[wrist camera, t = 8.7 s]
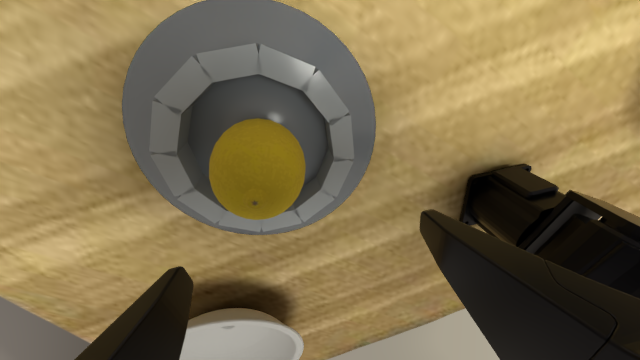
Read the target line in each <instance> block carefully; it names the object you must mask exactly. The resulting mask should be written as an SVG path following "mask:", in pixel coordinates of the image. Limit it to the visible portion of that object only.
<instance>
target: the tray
mask: <svg viewBox="0 0 640 360" xmlns="http://www.w3.org/2000/svg"><path fill="white" fill-rule="evenodd" d="M122 112H123V124H124V128H125V133H126V137H127V141H128V143H129V146H130V148H131V151H132V154H133V156H134V158H135V160H136V162H137V163H138V165H139V167H140V169H141V171H142V172H143V173H144V175H145V176H146V178H147V179H148V180H149V182H150V183H151V184H152V185H153V186H154V187H155V189H156V190H157V191H158V192H159V193H160V194H161V195H162V196H163V197H164V198H165V199H167V200H168V201H169V202H170V203H171V204H172V205H174V206H175V207H177V208H178V209H179V210H181V211H182V212H184V213H185V214H187V215H189V216H191V217H192V218H194V219H196V220H198V221H200V222H202V223H205V224H207V225H209V226H212V227H215V228H218V229H221V230H225V231H230V232H234V233H240V234H249V235H268V234H278V233H284V232H289V231H292V230H296V229H300V228H302V227H305V226H307V225H310V224H312V223H314V222H316V221H318V220H320V219H322V218H323V217H325V216H326V215H328V214H329V213H331V212H332V211H334V210H335V209H336V208H337V207H338V206H340V205H341V204H342V203H343V202H344V201H345V200H346V199H347V198H348V197H349V196H350V195H351V193H352V192H353V191H354V189H355V188H356V187H357V185H358V184H359V182H360V180H361V179H362V177H363V175H364V173H365V171H366V169H367V166H368V164H369V162H370V158H371V155H372V152H373V147H374V141H375V129H376V119H375V109H374V103H373V99H372V95H371V91H370V88H369V86H368V83H367V80H366V78H365V75H364V74H363V72H362V70H361V68H360V66H359V64H358V62H357V61H356V59H355V58H354V57H353V55H352V54H351V52H350V51H349V50H348V48H347V47H346V46H345V45H344V44H343V43H342V42H341V41H340V39H339V38H338V37H337V36H336V35H335V34H334V33H333V32H331V31H330V30H329V29H328V28H326V27H325V26H324V25H323V24H321V23H320V22H319V21H317V20H316V19H314V18H312V17H311V16H309V15H307V14H305V13H304V12H302V11H300V10H298V9H295V8H293V7H290V6H288V5H285V4H283V3H280V2H276V1H272V0H206V1H202V2H198V3H195V4H193V5H191V6H189V7H186V8H184V9H182V10H180V11H178V12H176V13H175V14H173V15H172V16H170V17H169V18H167V19H166V20H164V21H163V22H161V23H160V24H159V25H158V26H157V27H156V28H155V29H154V30H153V31H152V32H151V33H150V34H149V35H148V36H147V37H146V39H145V40H144V42H143V43H142V44H141V46H140V47H139V49H138V50H137V52H136V53H135V56H134V58H133V60H132V62H131V64H130V66H129V69H128V72H127V76H126V80H125V83H124V88H123V99H122ZM256 118H260V119H267V120H271V121H274V122H276V123H279V124H281V125H282V126H284V127H285V128H286V129H288V130H289V131H290V132H291V133H292V134H293V135H294V137H295V138H296V139H297V140H298V142H299V144H300V146H301V148H302V150H303V153H304V159H305V165H306V169H305V179H304V184H303V186H302V189H301V191H300V194H299V196H298V197H297V199H296V200H295V201H294V203H293V204H292V205H291V206H290V207H289V208H288V209H287V210H285V211H284V212H283V213H281V214H279V215H277V216H275V217H272V218H268V219H262V220H252V219H245V218H242V217H239V216H237V215H235V214H233V213H231V212H230V211H228V210H227V209H226V208H225V207H224V206H223V205H222V204H221V203H220V202H219V201H218V199H217V198H216V196H215V194H214V192H213V190H212V187H211V183H210V179H209V162H210V157H211V154H212V151H213V148H214V146H215V144H216V142H217V141H218V140H219V138H220V137H221V136H222V134H223V133H224V132H225V131H226V130H228V129H229V128H230V127H232V126H233V125H234V124H236V123H239V122H241V121H244V120H247V119H256Z"/></svg>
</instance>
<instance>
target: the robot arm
mask: <svg viewBox="0 0 640 360" xmlns="http://www.w3.org/2000/svg"><path fill="white" fill-rule="evenodd" d="M530 171H531V166H529V165H527V164H524V165H519V166H515V167H510V168H506V169H501V170H497V171H492V172H488V173H483V174H479V175H474V176H472V177H471V178H470V179H469V181H468V185H467V190H466V195H465V200H464V205H463V209H462V214H461V219H460V221H458V220H456V219H453V218H451V217H449V216H447V215H444V214H442V213H440V212H438V211H436V210H433V209H430V210H426V211H423V212H421V217H420V232H421V234H422V236H423V238H424V240H425V242H426V244H427V246H428V248H429V250H430V251H431V253H432V255H433V257H434V259H435V261H436V263H437V265H438V266H439V268H440V270H441V272H442V273H443V275H444V276H445V278H446V279H447V281H448V282H449V284H450V285H451V287H452V288H453V290H454V291H455V293H456V294H457V296H458V297H459V299H460V300H461V302H462V303H463V305H464V306H465V308H466V309H467V311H468V312H469V314H470V315H471V317H472V318H473V320H474V321H475V323H476V324H477V326H478V327H479V328H480V330H481V332H482V333H483V335H484V336H485V337H486V339H487V340H488V342H489V344H490V345H491V347H492V348H493V349H494V351H495V352H496V354H497V356H498V357H499V358H500V360H640V217H638V216H636V215H633V214H631V213H629V212H627V211H625V210H622V209H620V208H618V207H616V206H614V205H611V204H609V203H607V202H605V201H602V200H599V199H596V198H593V197H590V196H587V195H584V194H581V193H578V192H575V191H572V190H569V191H568V192H567V193H566V194H565V195H564V194H562V193H560V192H559V191H558V189H559V188H558V187H557V186H556V185H554V184H552V183H550V182H548V181H546V180H544V179H542V178H540V177H538V176H536V175H534V174H532V173H530ZM601 216H602V218H601V219H600V220H598V219H599V218H600V217H601ZM474 224H478V225H479V226H480V227H481V228H482V229H483V230H484V231H485V232H487V233H488V234H487V233H485V232H482V231H480V230H478V229H476V228H473V227H471V226H470V225H474ZM192 292H193V281H192V279H191V278H190V276H189V275H188V273H187V272H186V270H185V269H184V268H183V267H175V268H171V269H169V270H168V271H166V272H165V273H164V274H163V275H162V276H161V277H160V278H159V279H158V280H157V281H156V282H155V283H154V284H153V285H152V286H151V287H150V288H149V289H148V290H147V291H146V292H145V293H144V294H142V295H141V296H140V297H139V298H138V299H137V300H136V301H135V302H134V303H133V304H132V305H131V306H130V307H129V308H128V309H127V310H126V311H125V312H124V313H123V314H122V315H121V316H119V317H118V318H117V319H116V320H115V321H114V322H113V323H112V324H111V325H110V326H109V327H108V328H107V329H106V330H105V331H104V332H103V333H102V334H101V335H100V336H99V337H98V338H96V339H95V340H94V341H93V342H92V343H91V344H90V345H89V346H88V347H87V348H86V349H85V350H84V351H83V352H82V353H81V354H80V355H79V356H78V357H77V358H76V359H75V360H179V359H180V355H181V351H182V347H183V343H184V339H185V335H186V331H187V325H188V319H189V312H190V306H191V299H192Z"/></svg>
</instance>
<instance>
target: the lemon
mask: <svg viewBox="0 0 640 360" xmlns="http://www.w3.org/2000/svg"><path fill="white" fill-rule="evenodd" d="M305 169H306V165H305V159H304V153H303V150H302V148H301V146H300V144H299V142H298V140H297V139H296V138H295V137H294V135H293V134H292V133H291V132H290V131H289V130H288V129H286V128H285V127H284V126H282V125H281V124H279V123H276V122H274V121H271V120H267V119H260V118H256V119H247V120H244V121H241V122H239V123H236V124H234V125H233V126H232V127H230V128H229V129H228V130H226V131H225V132H224V133H223V134H222V136H221V137H220V138H219V140H218V141H217V142H216V144H215V146H214V148H213V151H212V154H211V157H210V162H209V179H210V183H211V187H212V190H213V192H214V194H215V196H216V198H217V199H218V201H219V202H220V203H221V204H222V205H223V206H224V207H225V208H226V209H227V210H228V211H230V212H231V213H233V214H235V215H237V216H239V217H242V218H245V219H252V220H262V219H268V218H272V217H275V216H277V215H279V214H281V213H283V212H284V211H285V210H287V209H288V208H289V207H290V206H291V205H292V204H293V203H294V201H295V200H296V199H297V197H298V196H299V194H300V191H301V189H302V186H303V184H304V179H305Z"/></svg>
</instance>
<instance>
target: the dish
mask: <svg viewBox="0 0 640 360" xmlns="http://www.w3.org/2000/svg"><path fill="white" fill-rule="evenodd" d="M303 348H304V343H303V340H302V337H301V336H300V334H299V333H298V332H297V331H296V330H294V329H293V328H291V327H289V326H287V325H285V324H283V323H282V322H280V321H279V320H277V319H276V318H274V317H272V316H270V315H268V314H266V313H264V312H261V311H257V310H253V309H246V308H228V309H221V310H216V311H212V312H208V313H205V314H202V315H199V316H197V317H194V318H192V319H190V320H188V325H187V331H186V335H185V339H184V343H183V347H182V351H181V355H180V359H179V360H299V358H300V357H301V355H302V352H303Z"/></svg>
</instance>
